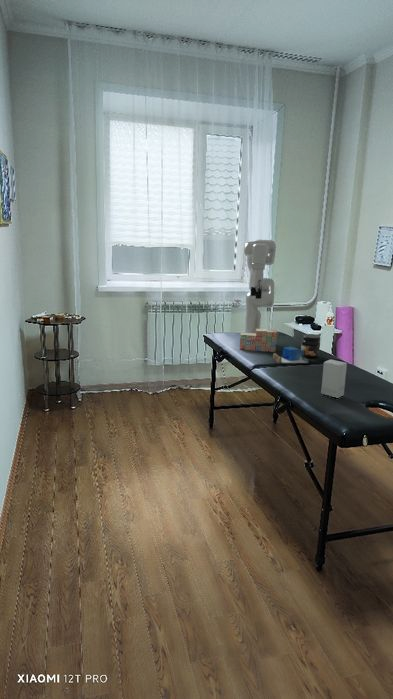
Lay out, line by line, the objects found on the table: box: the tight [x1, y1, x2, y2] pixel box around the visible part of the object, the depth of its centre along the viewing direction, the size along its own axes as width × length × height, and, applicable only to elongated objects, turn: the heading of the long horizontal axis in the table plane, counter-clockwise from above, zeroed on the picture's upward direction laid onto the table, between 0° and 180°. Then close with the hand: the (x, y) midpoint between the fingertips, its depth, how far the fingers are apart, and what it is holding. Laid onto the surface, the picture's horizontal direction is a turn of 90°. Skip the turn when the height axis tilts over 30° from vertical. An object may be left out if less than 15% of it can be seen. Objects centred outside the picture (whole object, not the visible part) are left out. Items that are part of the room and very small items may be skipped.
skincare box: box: [320, 359, 348, 399], centre depth 201 cm, size 8×7×16 cm
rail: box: [272, 352, 282, 364], centre depth 253 cm, size 10×1×3 cm, turn 10°
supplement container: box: [300, 333, 321, 359], centre depth 264 cm, size 10×10×12 cm
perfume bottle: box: [281, 346, 306, 361], centre depth 256 cm, size 6×6×12 cm
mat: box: [280, 356, 309, 364], centre depth 254 cm, size 9×16×2 cm, turn 100°
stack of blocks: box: [239, 328, 278, 353], centre depth 274 cm, size 21×6×12 cm, turn 86°
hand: (255, 297), depth 261 cm, fingers open, 9 cm apart
